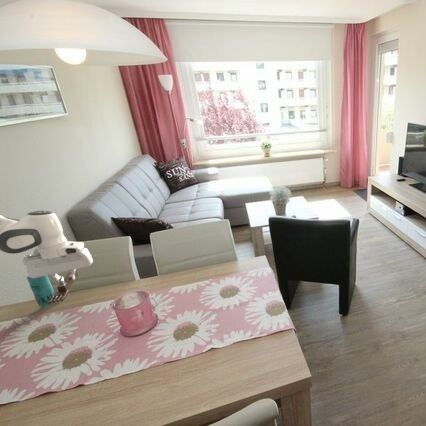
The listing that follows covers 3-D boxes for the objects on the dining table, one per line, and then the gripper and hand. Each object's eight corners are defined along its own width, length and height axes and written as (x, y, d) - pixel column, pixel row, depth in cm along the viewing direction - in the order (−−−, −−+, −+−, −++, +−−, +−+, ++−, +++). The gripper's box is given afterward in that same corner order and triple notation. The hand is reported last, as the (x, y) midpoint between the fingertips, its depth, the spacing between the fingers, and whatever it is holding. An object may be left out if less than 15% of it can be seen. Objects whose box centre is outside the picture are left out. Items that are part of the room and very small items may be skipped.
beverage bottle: (43, 303, 131) (26, 264, 124) (61, 299, 133) (45, 260, 127) (36, 311, 125) (18, 271, 119) (55, 307, 128) (38, 267, 121)
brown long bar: (63, 301, 109) (60, 294, 108) (49, 304, 108) (46, 298, 107) (80, 274, 127) (78, 269, 126) (69, 277, 126) (66, 271, 125)
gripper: (16, 259, 108) (31, 291, 113) (83, 247, 116) (94, 277, 120) (24, 253, 113) (38, 283, 118) (88, 241, 121) (98, 270, 126)
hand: (67, 280), depth 119 cm, fingers closed on brown long bar, 2 cm apart
